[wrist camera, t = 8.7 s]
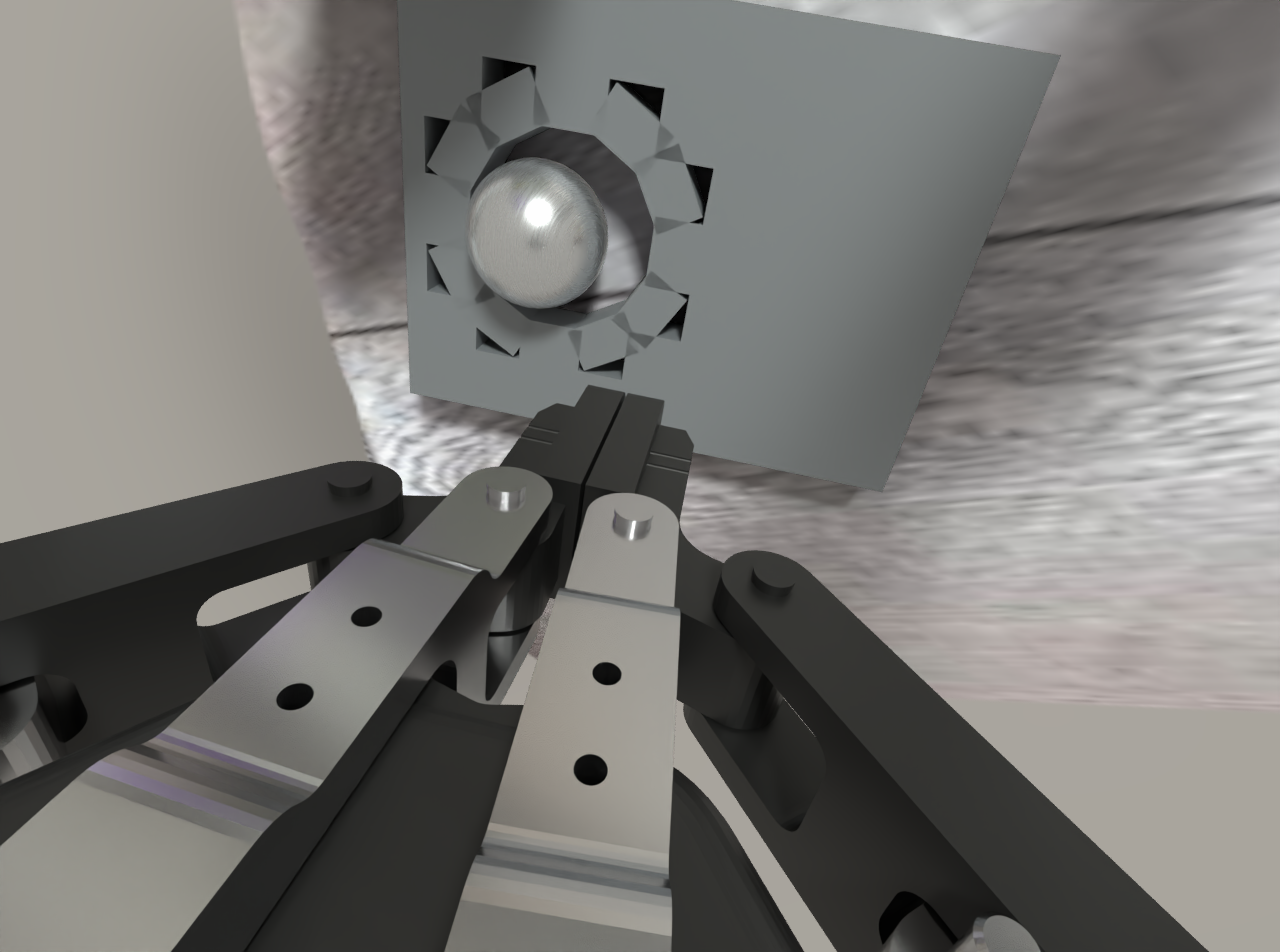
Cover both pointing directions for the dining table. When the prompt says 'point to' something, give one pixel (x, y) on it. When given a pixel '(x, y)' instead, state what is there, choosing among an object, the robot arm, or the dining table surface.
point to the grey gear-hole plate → (717, 212)
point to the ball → (536, 233)
